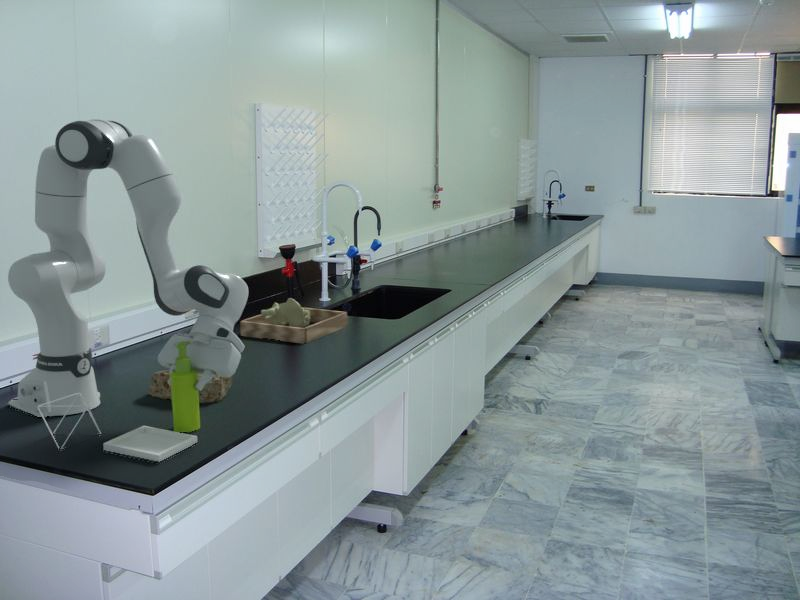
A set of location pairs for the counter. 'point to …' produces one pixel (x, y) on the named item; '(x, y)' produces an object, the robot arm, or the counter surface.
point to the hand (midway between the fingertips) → (184, 387)
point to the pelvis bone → (287, 314)
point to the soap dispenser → (184, 393)
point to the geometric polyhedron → (66, 413)
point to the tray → (150, 443)
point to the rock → (207, 395)
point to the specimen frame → (323, 325)
